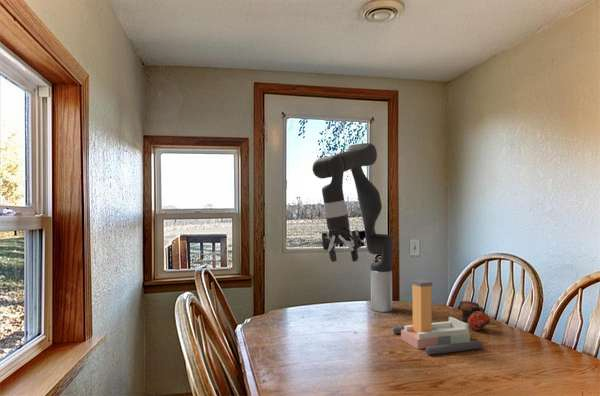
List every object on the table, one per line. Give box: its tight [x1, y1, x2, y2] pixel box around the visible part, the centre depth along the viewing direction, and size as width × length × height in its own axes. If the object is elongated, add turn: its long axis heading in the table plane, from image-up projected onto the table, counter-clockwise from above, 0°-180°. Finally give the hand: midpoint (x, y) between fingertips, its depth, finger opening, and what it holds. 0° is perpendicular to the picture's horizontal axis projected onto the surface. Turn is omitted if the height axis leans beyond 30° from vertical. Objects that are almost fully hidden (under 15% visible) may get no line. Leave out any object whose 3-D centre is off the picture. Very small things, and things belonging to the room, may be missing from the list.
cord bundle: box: [392, 325, 405, 335], centre depth 140 cm, size 20×2×2 cm, turn 106°
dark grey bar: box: [425, 340, 483, 356], centre depth 121 cm, size 20×2×2 cm, turn 106°
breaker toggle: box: [411, 278, 433, 333], centre depth 129 cm, size 4×5×17 cm
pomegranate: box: [467, 311, 491, 334], centre depth 141 cm, size 7×7×10 cm
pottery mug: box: [456, 300, 486, 322], centre depth 154 cm, size 12×10×8 cm
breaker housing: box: [400, 316, 471, 350], centre depth 130 cm, size 20×10×6 cm, turn 106°
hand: (344, 261), depth 131 cm, fingers open, 8 cm apart
